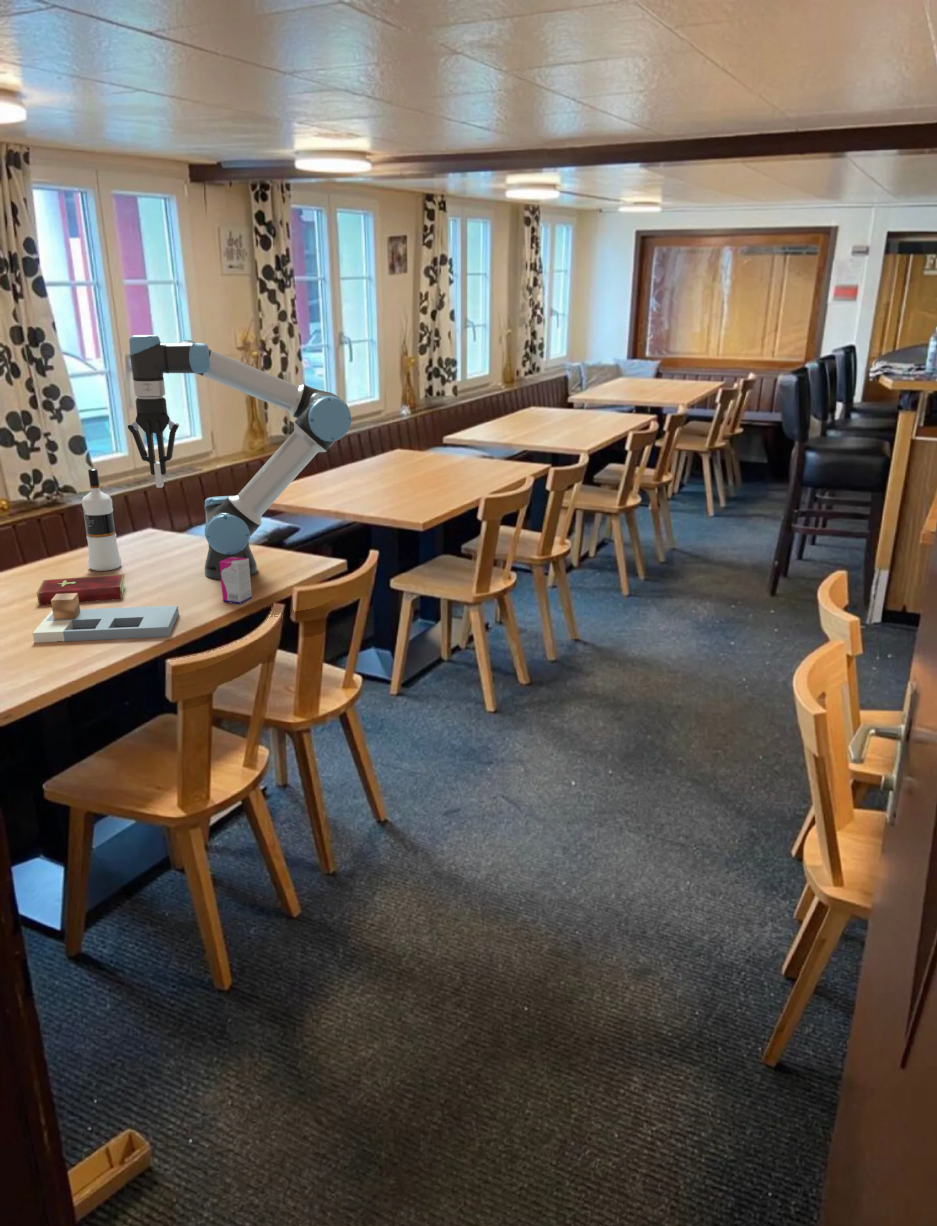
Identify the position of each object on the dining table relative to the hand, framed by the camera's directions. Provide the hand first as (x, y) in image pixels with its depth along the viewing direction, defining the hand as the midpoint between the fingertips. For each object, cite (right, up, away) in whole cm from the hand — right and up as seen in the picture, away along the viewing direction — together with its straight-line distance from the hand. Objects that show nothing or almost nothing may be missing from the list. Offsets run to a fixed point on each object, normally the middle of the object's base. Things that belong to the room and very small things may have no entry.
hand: (160, 486), depth 236 cm
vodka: (-27, -20, +30) cm, 45 cm away
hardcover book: (-23, -30, +5) cm, 38 cm away
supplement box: (+20, -31, +3) cm, 37 cm away
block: (-17, -35, -18) cm, 43 cm away
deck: (-6, -38, -18) cm, 42 cm away
